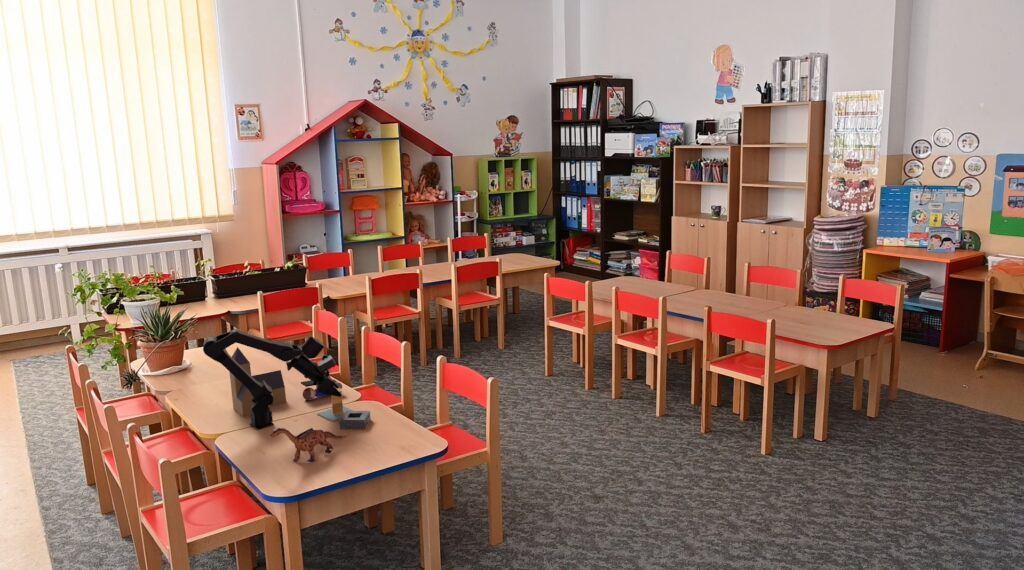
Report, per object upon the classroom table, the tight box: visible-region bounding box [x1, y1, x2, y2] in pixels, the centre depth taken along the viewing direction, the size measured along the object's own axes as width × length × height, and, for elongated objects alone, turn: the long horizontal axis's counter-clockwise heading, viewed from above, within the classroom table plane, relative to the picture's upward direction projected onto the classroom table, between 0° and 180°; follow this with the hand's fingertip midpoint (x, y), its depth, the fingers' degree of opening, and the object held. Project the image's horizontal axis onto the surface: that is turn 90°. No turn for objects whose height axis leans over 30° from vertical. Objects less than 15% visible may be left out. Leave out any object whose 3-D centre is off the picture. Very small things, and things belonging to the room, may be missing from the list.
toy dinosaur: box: [268, 427, 350, 464], centre depth 257 cm, size 8×30×15 cm, turn 148°
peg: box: [330, 388, 344, 415], centre depth 297 cm, size 4×4×9 cm
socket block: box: [338, 410, 372, 430], centre depth 287 cm, size 9×9×4 cm
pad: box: [316, 405, 354, 423], centre depth 298 cm, size 11×11×1 cm
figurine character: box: [300, 378, 343, 401], centre depth 317 cm, size 7×8×15 cm
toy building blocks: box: [229, 346, 287, 419], centre depth 305 cm, size 12×19×25 cm, turn 125°
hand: (339, 392), depth 296 cm, fingers open, 9 cm apart
